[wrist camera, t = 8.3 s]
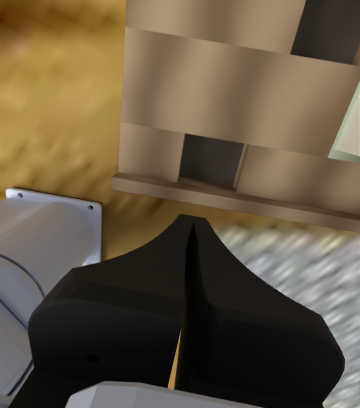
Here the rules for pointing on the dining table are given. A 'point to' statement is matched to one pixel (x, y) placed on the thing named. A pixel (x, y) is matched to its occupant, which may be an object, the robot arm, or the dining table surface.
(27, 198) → the robot arm
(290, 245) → the dining table surface
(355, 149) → the block
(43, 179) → the dining table surface
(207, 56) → the tray
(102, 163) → the dining table surface
